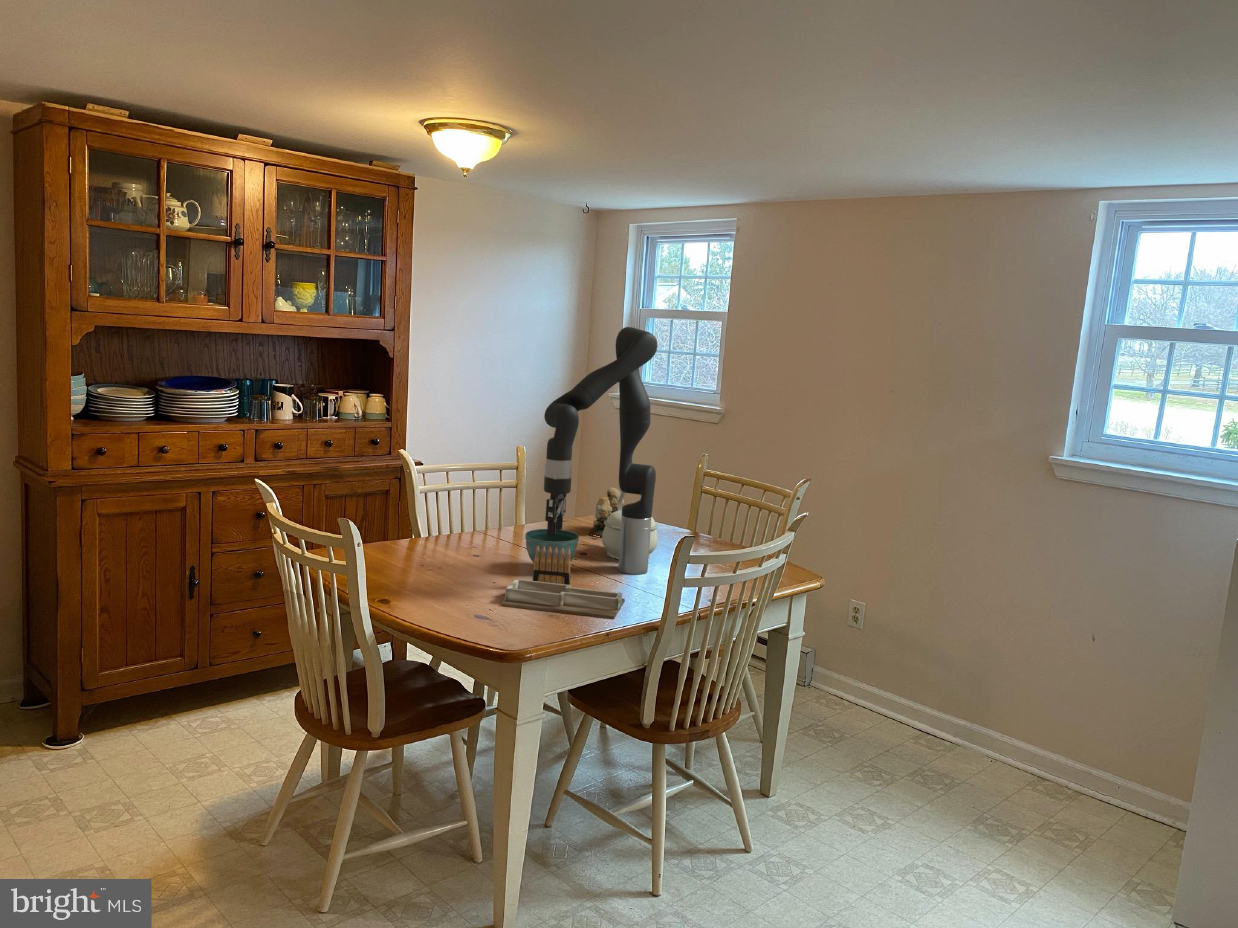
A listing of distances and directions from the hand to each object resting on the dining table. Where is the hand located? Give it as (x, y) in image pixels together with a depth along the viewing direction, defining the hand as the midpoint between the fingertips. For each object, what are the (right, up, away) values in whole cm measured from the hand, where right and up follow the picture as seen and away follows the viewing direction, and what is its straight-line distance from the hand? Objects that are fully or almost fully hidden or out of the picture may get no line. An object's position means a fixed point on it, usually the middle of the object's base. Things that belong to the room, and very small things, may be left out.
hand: (554, 532), depth 257 cm
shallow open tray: (+3, -18, -11) cm, 22 cm away
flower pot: (-3, -13, +22) cm, 26 cm away
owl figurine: (+14, -6, +77) cm, 78 cm away
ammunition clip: (-1, -16, +3) cm, 16 cm away
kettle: (+21, -11, +46) cm, 52 cm away
